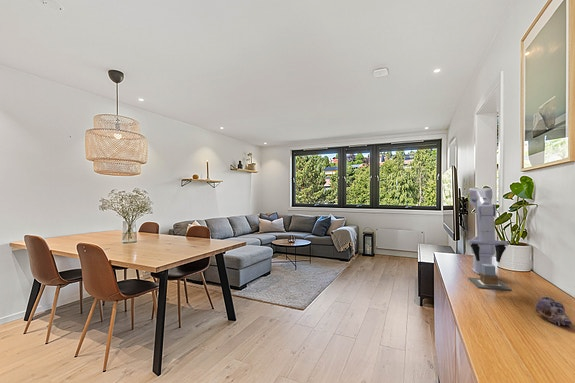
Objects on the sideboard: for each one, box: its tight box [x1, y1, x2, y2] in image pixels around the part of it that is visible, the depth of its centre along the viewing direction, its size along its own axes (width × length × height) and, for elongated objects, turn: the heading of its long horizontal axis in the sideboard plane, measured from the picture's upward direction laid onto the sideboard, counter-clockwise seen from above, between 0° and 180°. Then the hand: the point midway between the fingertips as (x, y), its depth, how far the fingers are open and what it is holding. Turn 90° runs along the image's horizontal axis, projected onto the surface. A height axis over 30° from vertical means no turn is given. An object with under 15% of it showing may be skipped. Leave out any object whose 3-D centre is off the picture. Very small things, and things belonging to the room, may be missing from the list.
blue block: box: [481, 263, 497, 276], centre depth 120 cm, size 4×4×4 cm
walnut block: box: [479, 272, 499, 285], centre depth 120 cm, size 5×5×4 cm
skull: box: [535, 296, 573, 329], centre depth 86 cm, size 12×8×6 cm, turn 153°
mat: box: [468, 277, 513, 292], centre depth 120 cm, size 14×12×1 cm
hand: (487, 261), depth 121 cm, fingers open, 7 cm apart
